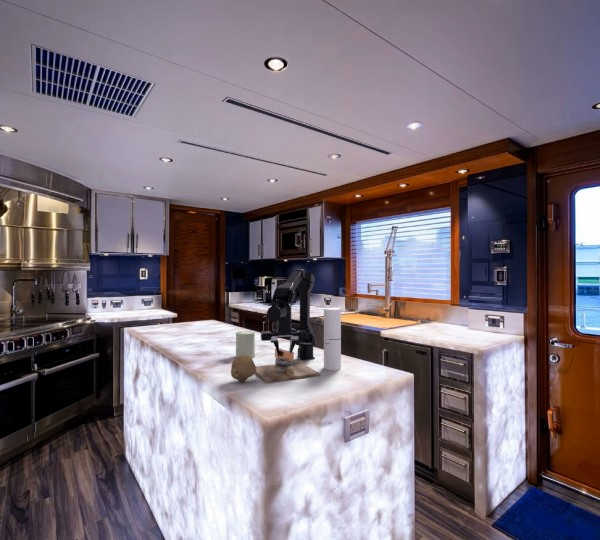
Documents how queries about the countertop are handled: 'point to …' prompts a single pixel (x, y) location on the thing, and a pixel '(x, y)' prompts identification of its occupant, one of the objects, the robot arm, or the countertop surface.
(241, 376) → the natural sponge
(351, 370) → the countertop surface
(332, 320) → the cylindrical container
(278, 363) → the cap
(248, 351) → the can
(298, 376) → the post board
